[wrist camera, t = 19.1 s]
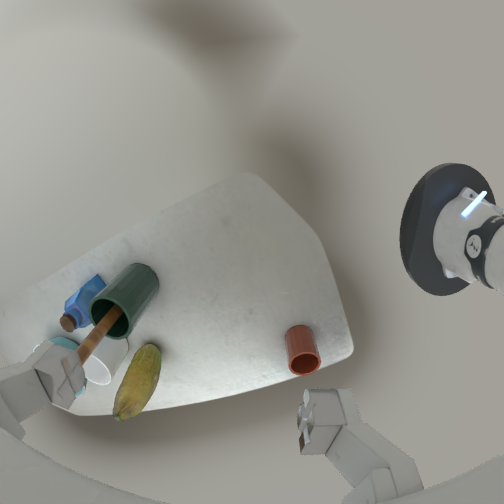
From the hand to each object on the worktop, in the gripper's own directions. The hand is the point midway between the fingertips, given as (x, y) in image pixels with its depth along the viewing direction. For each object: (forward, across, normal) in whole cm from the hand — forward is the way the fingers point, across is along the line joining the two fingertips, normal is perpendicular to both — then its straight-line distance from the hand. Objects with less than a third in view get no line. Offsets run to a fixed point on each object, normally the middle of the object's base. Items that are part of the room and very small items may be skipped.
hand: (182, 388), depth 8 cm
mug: (+36, +28, +31) cm, 55 cm away
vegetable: (+36, +16, +30) cm, 50 cm away
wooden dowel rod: (+35, +18, +15) cm, 42 cm away
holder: (+36, -12, +23) cm, 45 cm away
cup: (+36, +18, +15) cm, 43 cm away
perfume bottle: (+36, +28, +19) cm, 50 cm away
